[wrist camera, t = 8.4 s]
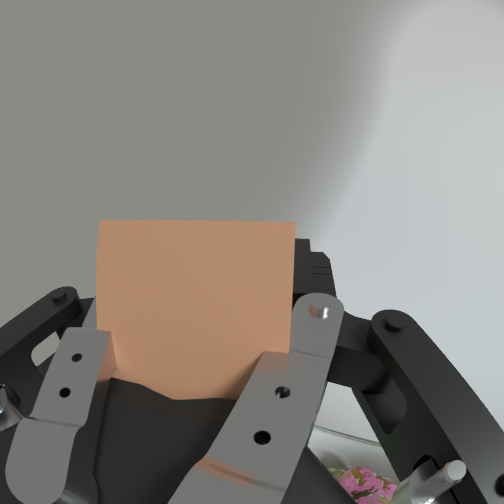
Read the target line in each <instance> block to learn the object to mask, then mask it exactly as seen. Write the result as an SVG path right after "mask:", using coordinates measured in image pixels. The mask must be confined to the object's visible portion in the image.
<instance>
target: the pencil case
mask: <svg viewBox="0 0 504 504" xmlns="http://www.w3.org/2000/svg"><path fill="white" fill-rule="evenodd" d="M337 481H338V482H339V483H340V484H341V485H342V487H343V488H344V489H345V490H346V491H347V492H348V493H349V494H350V495H351V496H352V497H353V499H354V500H355V501H356V502H357V503H358V504H391V500H392V495H393V492H394V490H395V488H396V487H397V485H394V484H392V483H390V482H388V481H386V480H385V479H383V478H382V477H380V476H379V475H377V474H376V473H374V472H373V471H372V470H371V469H369V468H366V467H352V468H350V469H349V470H347V471H346V472H345V473H344V474H343V475H341V476H340V477H339V478H338V479H337Z"/></svg>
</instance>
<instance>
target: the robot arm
mask: <svg viewBox="0 0 504 504" xmlns="http://www.w3.org/2000/svg"><path fill="white" fill-rule="evenodd" d="M55 331H56V333H57V335H58V337H59V339H60V343H59V345H58V348H57V350H56V352H55V353H54V354H52V355H51V356H50V357H49V358H47V359H46V360H45V361H44V362H43V363H42V364H40V365H39V366H35V364H34V363H33V361H32V359H31V353H32V350H33V349H34V347H36V346H37V345H38V344H39V343H41V342H42V341H43V340H44V339H46V338H47V337H48V336H49V335H51V334H52V333H53V332H55ZM116 367H117V363H116V358H115V352H114V346H113V340H112V334H111V331H105V330H98V329H97V314H96V296H95V298H87V299H79V296H78V293H77V291H76V289H75V288H73V287H68V286H67V287H61V288H58V289H55V290H53V291H52V292H50V293H49V294H47V295H46V296H44V297H43V298H41V299H40V300H39V301H37V302H36V303H34V304H33V305H31V306H30V307H29V308H27V309H26V310H24V311H23V312H21V313H20V314H19V315H17V316H16V317H15V318H13V319H12V320H10V321H9V322H8V323H6V324H5V325H4V326H2V327H1V328H0V504H358V503H357V502H356V501H355V500H354V499H353V497H352V496H351V495H350V494H349V493H348V492H347V491H346V490H345V489H344V488H343V487H342V485H341V484H340V483H339V482H338V481H337V480H336V479H335V478H334V477H333V475H332V474H331V473H330V472H329V471H328V470H327V469H326V467H325V466H324V465H323V464H322V463H321V462H320V461H319V459H318V458H317V457H316V456H315V455H314V453H313V452H312V451H311V450H310V449H309V448H308V443H309V440H310V437H311V434H312V431H313V428H314V425H315V422H316V419H317V415H318V412H319V409H320V406H321V403H322V399H323V396H324V393H325V390H326V386H327V383H328V382H332V383H336V384H339V385H343V386H347V387H351V388H352V391H353V394H354V396H355V397H356V399H357V401H358V403H359V405H360V407H361V408H362V410H363V412H364V414H365V416H366V418H367V419H368V421H369V423H370V425H371V427H372V429H373V431H374V433H375V434H376V436H377V438H378V440H379V442H380V444H381V446H382V448H383V450H384V452H385V454H386V455H387V457H388V459H389V461H390V463H391V465H392V467H393V469H394V471H395V473H396V475H397V477H398V479H399V481H400V483H399V485H398V486H397V487H396V488H395V490H394V492H393V495H392V500H391V504H504V432H503V430H502V429H501V428H500V426H499V424H498V423H497V422H496V420H495V419H494V418H493V416H492V415H491V413H490V412H489V411H488V409H487V408H486V407H485V405H484V404H483V403H482V401H481V400H480V399H479V397H478V396H477V395H476V394H475V392H474V391H473V390H472V388H471V387H470V386H469V385H468V383H467V382H466V381H465V379H464V378H463V377H462V376H461V374H460V373H459V372H458V371H457V369H456V368H455V367H454V366H453V365H452V363H451V362H450V361H449V360H448V359H447V357H446V356H445V355H444V354H443V353H442V351H441V350H440V349H439V348H438V347H437V345H436V344H435V343H434V342H433V341H432V340H431V338H430V337H429V336H428V335H427V334H426V333H425V332H424V330H423V329H422V328H421V327H420V326H419V325H418V324H417V322H416V321H415V320H414V319H413V318H412V317H410V316H409V315H408V314H406V313H404V312H401V311H398V310H382V311H379V312H378V313H376V314H375V315H374V316H373V317H372V320H367V319H362V318H359V317H355V316H353V315H350V314H349V313H347V312H345V311H344V306H343V304H342V303H341V301H339V300H338V299H337V296H336V291H335V286H334V279H333V275H332V269H331V264H330V259H329V258H328V257H327V256H326V255H325V254H324V253H323V252H311V250H310V241H309V239H297V238H295V249H294V274H293V294H292V312H291V329H290V343H289V353H283V352H271V351H264V353H263V355H262V356H261V358H260V360H259V362H258V364H257V366H256V368H255V370H254V371H253V373H252V375H251V377H250V379H249V381H248V383H247V384H246V386H245V388H244V390H243V392H242V393H241V395H240V397H239V399H238V400H233V399H225V398H204V399H186V400H175V399H171V398H169V397H166V396H164V395H162V394H160V393H158V392H156V391H154V390H152V389H150V388H147V387H145V386H143V385H141V384H138V383H134V382H129V381H125V380H121V379H117V378H113V377H111V374H112V371H113V370H114V368H116ZM4 384H5V386H4V387H3V385H4Z"/></svg>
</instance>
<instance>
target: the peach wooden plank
mask: <svg viewBox="0 0 504 504" xmlns="http://www.w3.org/2000/svg"><path fill="white" fill-rule="evenodd" d="M98 232H99V233H98V247H97V273H96V275H97V276H96V314H97V329H98V330H105V331H111V334H112V340H113V346H114V352H115V358H116V363H117V367H116V368H114V370H113V371H112V374H111V377H113V378H117V379H121V380H125V381H129V382H134V383H138V384H141V385H143V386H145V387H147V388H150V389H152V390H154V391H156V392H158V393H160V394H162V395H164V396H166V397H169V398H171V399H175V400H186V399H204V398H225V399H233V400H238V399H239V397H240V395H241V393H242V392H243V390H244V388H245V386H246V384H247V383H248V381H249V379H250V377H251V375H252V373H253V371H254V370H255V368H256V366H257V364H258V362H259V360H260V358H261V356H262V355H263V353H264V351H271V352H283V353H289V343H290V329H291V312H292V294H293V274H294V249H295V223H294V222H263V221H219V220H100V221H99V231H98Z"/></svg>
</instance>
